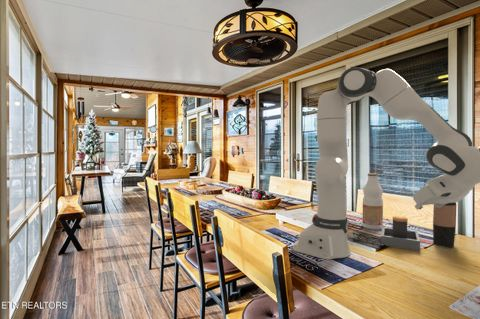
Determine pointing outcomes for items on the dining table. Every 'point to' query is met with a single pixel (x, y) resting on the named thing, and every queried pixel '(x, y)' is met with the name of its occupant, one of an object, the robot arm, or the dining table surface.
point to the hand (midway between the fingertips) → (426, 207)
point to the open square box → (400, 239)
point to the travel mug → (444, 225)
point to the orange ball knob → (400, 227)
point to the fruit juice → (373, 203)
